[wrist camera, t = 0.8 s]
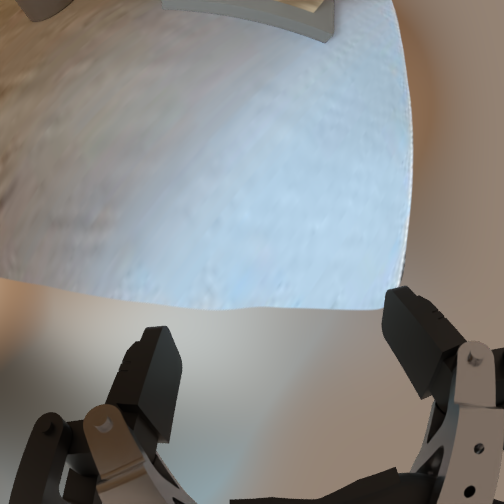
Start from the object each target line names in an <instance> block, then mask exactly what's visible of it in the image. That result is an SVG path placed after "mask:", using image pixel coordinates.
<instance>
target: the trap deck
mask: <svg viewBox="0 0 504 504" xmlns="http://www.w3.org/2000/svg"><path fill="white" fill-rule="evenodd" d="M162 9H168V10H184V11H195V12H204V13H212V14H219V15H225V16H231V17H236V18H241V19H246V20H251V21H255V22H259V23H263V24H267V25H271V26H275V27H278V28H282V29H285V30H289V31H292V32H295V33H298V34H301V35H304V36H307V37H310V38H312V39H315V40H318V41H321V42H323V43H326V42H327V41H328V40H329V39H330V38H331V37H332V36H333V33H334V0H324V1H323V2H322V3H321V5H320V6H319V7H318V8H317V10H316V11H315V12H314V13H312V12H309V11H307V10H304V9H301V8H298V7H295V6H292V5H288V4H285V3H282V2H278V1H274V0H162Z"/></svg>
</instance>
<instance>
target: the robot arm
mask: <svg viewBox="0 0 504 504" xmlns="http://www.w3.org/2000/svg"><path fill="white" fill-rule="evenodd" d="M15 1H16V2H17V3H18V5H19V6H20V7H21V9H22V10H23V11H24V13H25V14H26V15H27V17H28V18H29V19H30V20H31V21H33V22H37V21H42V20H45V19H47V18H49V17H51V16H53V15H55V14H56V13H58V12H59V11H61V10H62V9H63V8H65V7H66V6H67V5H68V4H69V3H71V2H72V1H73V0H15ZM382 332H383V335H384V338H385V340H386V341H387V343H388V344H389V346H390V348H391V349H392V351H393V352H394V354H395V356H396V357H397V359H398V361H399V362H400V364H401V366H402V367H403V369H404V371H405V372H406V374H407V376H408V378H409V379H410V381H411V383H412V384H413V386H414V388H415V390H416V391H417V393H418V395H419V397H420V399H421V400H422V399H424V398H427V397H429V396H431V395H432V396H433V397H434V399H435V400H434V402H433V404H432V408H431V412H430V417H429V421H428V425H427V430H426V433H425V437H424V441H423V444H422V447H421V450H420V452H419V454H418V456H417V457H416V459H415V461H414V463H413V466H412V468H411V471H410V473H398V472H397V469H396V467H394V468H391V469H389V470H386V471H383V472H380V473H378V474H375V475H372V476H369V477H365V478H362V479H359V480H357V481H355V482H353V483H351V484H349V485H347V486H345V487H343V488H341V489H339V490H337V491H335V492H333V493H331V494H329V495H327V496H324V497H323V498H319V499H313V500H311V499H288V498H275V497H268V498H256V499H239V500H237V499H235V500H230V504H504V502H502V501H498V500H495V499H494V495H495V491H496V487H497V482H498V477H499V471H500V466H501V459H502V452H503V450H504V348H499V349H494V350H490V348H489V347H488V346H487V345H485V344H483V343H481V342H478V341H468V342H467V341H466V340H465V339H464V337H463V336H462V335H461V334H460V333H459V332H458V331H457V329H456V328H455V327H454V326H453V325H452V324H451V323H450V322H449V321H448V320H447V318H444V315H443V314H442V313H441V312H440V311H438V309H437V308H436V307H435V306H434V305H433V304H432V303H431V302H430V301H429V300H427V299H425V298H423V297H421V296H416V295H415V294H414V293H413V292H412V291H411V289H409V287H407V286H402V287H398V288H394V289H390V290H387V292H386V295H385V302H384V310H383V317H382ZM181 374H182V360H181V357H180V355H179V352H178V349H177V347H176V345H175V343H174V340H173V338H172V335H171V333H170V330H169V329H168V327H167V326H157V327H147V328H146V329H145V330H144V333H143V335H142V338H141V340H140V341H136V342H135V343H134V344H133V345H132V346H131V347H130V348H129V349H128V350H127V352H126V354H125V356H124V358H123V361H122V364H121V365H120V368H119V372H117V375H116V377H115V380H114V382H113V385H112V387H111V390H110V392H109V395H108V397H107V400H106V402H105V404H103V405H99V406H96V407H94V408H93V409H91V410H90V411H89V412H88V413H87V415H86V416H85V419H84V420H78V421H71V422H65V421H64V420H63V419H62V417H60V415H58V414H57V413H53V412H49V413H46V414H44V415H42V416H41V417H40V418H39V419H38V420H37V421H36V423H35V425H34V427H33V430H32V432H31V435H30V437H29V440H28V443H27V445H26V448H25V451H24V453H23V456H22V459H21V462H20V465H19V468H18V471H17V475H16V478H15V481H14V485H13V489H12V492H11V496H10V500H9V504H102V503H103V504H197V503H196V502H195V501H194V500H193V499H192V498H191V497H190V496H189V495H188V494H187V493H186V492H185V491H184V490H183V488H182V487H181V486H180V484H179V483H178V482H177V480H176V479H175V478H174V476H173V475H172V473H171V472H170V470H169V469H168V468H167V466H166V465H165V463H164V462H163V460H162V458H161V457H160V455H159V454H158V453H157V451H156V448H157V443H169V440H170V434H171V428H172V423H173V417H174V411H175V406H176V400H177V395H178V390H179V385H180V379H181ZM65 464H66V465H67V466H68V467H70V468H69V472H68V477H67V480H66V485H65V489H64V494H63V497H61V496H60V493H59V484H60V480H61V476H62V472H63V468H64V465H65Z"/></svg>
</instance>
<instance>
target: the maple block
mask: <svg viewBox="0 0 504 504" xmlns="http://www.w3.org/2000/svg"><path fill="white" fill-rule="evenodd" d="M274 1H278V2H282V3H285V4H288V5H292V6H295V7H298V8H301V9H304V10H307V11H309V12H312V13H314V12H315V11H316V10H317V8H318V7H319V6H320V5H321V3H322V2H323V1H324V0H274Z"/></svg>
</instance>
